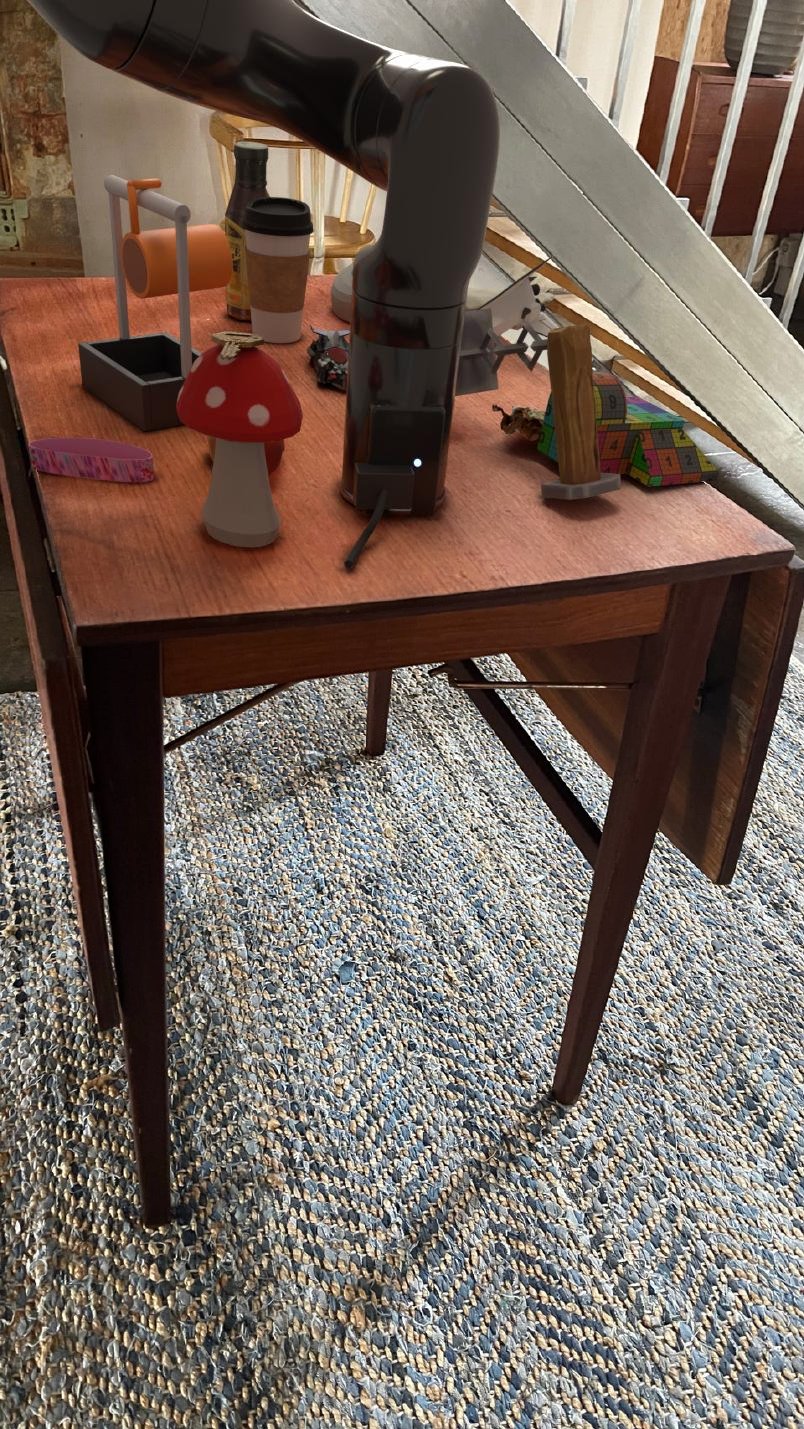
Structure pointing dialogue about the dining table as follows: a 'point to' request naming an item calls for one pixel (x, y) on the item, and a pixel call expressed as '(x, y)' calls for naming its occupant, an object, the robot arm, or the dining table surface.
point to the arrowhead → (482, 296)
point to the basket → (148, 365)
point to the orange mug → (171, 254)
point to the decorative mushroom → (240, 438)
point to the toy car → (330, 357)
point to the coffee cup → (277, 265)
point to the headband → (92, 459)
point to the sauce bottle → (245, 189)
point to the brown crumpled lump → (522, 421)
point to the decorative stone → (342, 293)
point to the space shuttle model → (519, 307)
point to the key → (235, 342)
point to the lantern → (568, 392)
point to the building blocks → (636, 439)
